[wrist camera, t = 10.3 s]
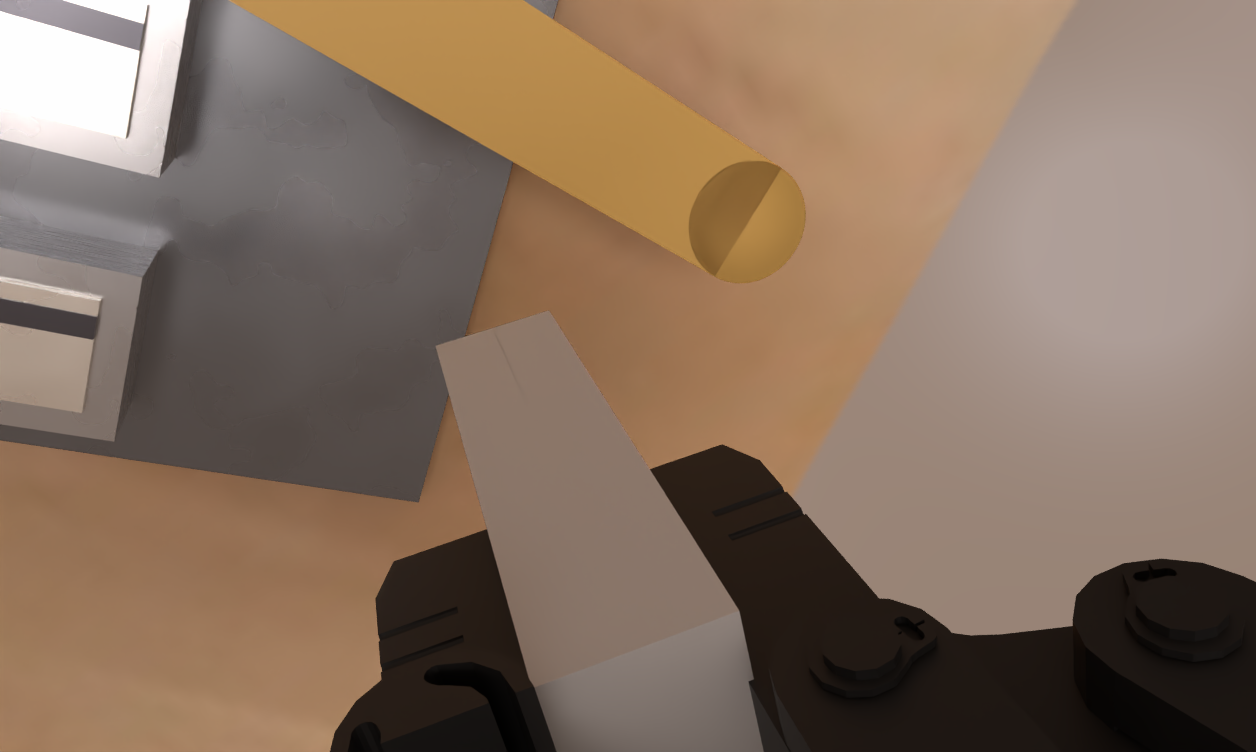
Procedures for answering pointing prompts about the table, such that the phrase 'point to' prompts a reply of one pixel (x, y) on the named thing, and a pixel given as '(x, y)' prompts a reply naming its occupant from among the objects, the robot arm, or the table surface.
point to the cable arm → (566, 120)
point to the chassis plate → (227, 247)
